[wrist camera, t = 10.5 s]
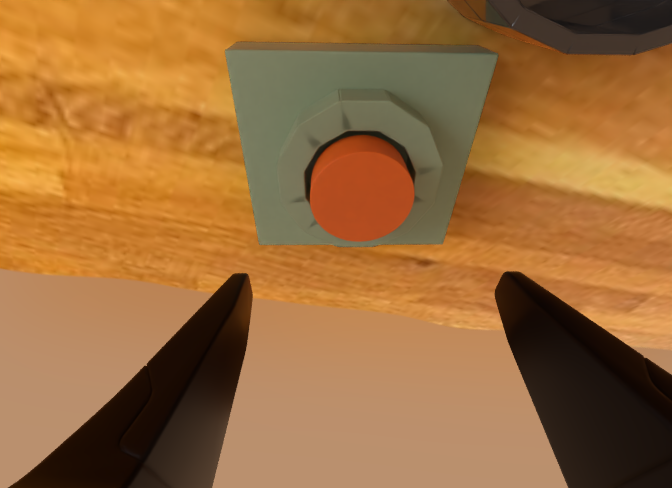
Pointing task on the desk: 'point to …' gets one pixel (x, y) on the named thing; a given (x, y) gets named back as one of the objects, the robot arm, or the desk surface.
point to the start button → (360, 188)
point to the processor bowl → (577, 23)
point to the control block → (355, 125)
